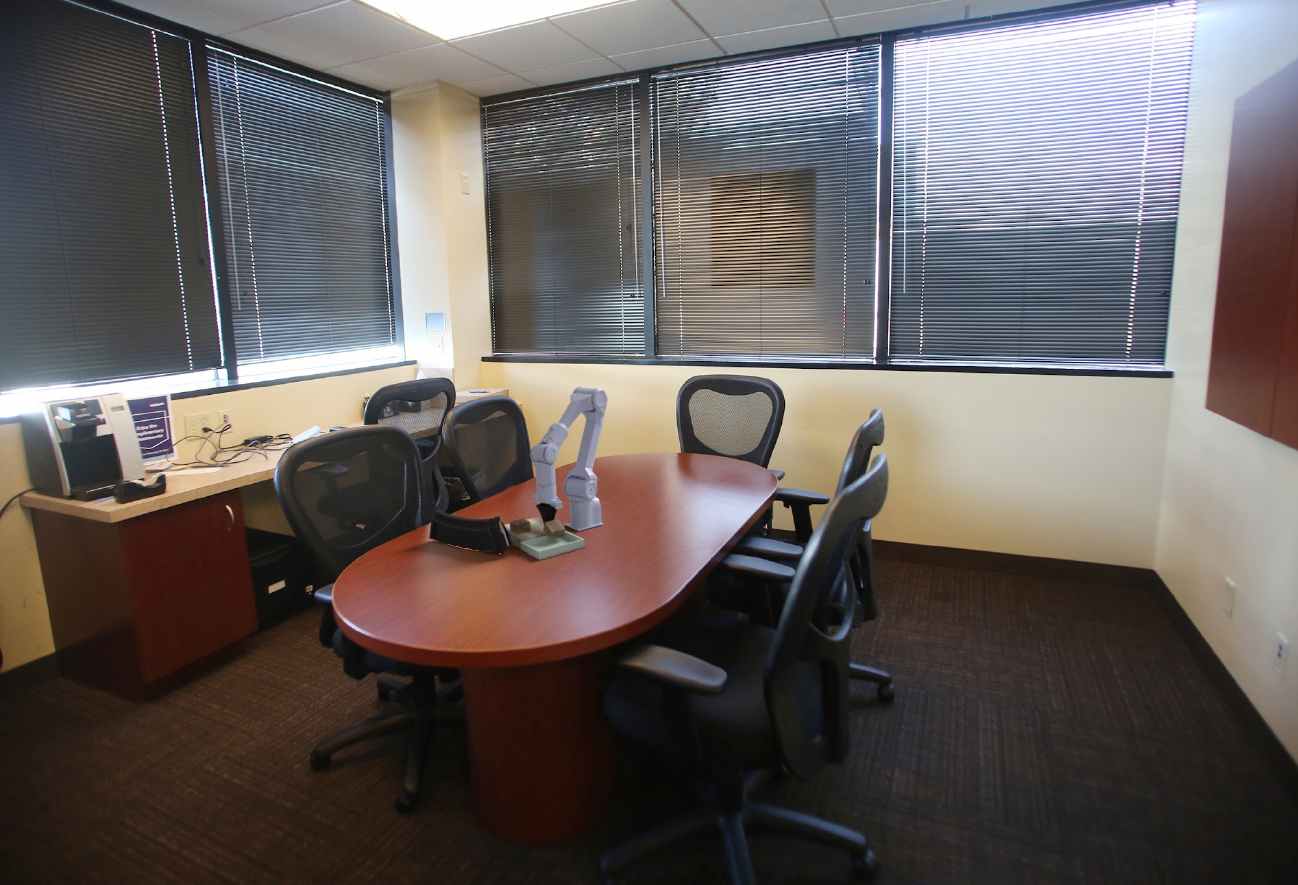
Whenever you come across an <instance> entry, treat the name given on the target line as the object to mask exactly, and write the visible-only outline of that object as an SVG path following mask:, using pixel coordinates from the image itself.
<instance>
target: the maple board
mask: <svg viewBox="0 0 1298 885" xmlns="http://www.w3.org/2000/svg"><path fill="white" fill-rule="evenodd" d="M526 520H528V521H530V528H531V531H530V532H526V533H522V534H518V535H517V534H515V533H513V532H511V531H510V523H506V524H504V525H505V527H506V529H507V530H508V531H509V534H510V537H511V540H512V543H513V544H515V545H516V546H518V547H519V548H518V547H517V548H518V549H520V548H521V546H520V542H522V541H526V540H530V539H534V538H538V537H541V536H545V535H547V534H546V533H545V531H544V530H543V528H544V523H543V519H542V518H540V517H538V516H536V517H531V518H528V519H526ZM515 545H514V546H515ZM516 546H515V547H516Z"/></svg>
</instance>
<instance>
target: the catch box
mask: <svg viewBox="0 0 1298 885" xmlns="http://www.w3.org/2000/svg"><path fill="white" fill-rule="evenodd" d="M520 546H521V549H520V551H521V550H523V551H524V553H525V552H526V553H525V554H527V553H528V554H527V555H529V554H530V555H532V556H533V557H532V556H531V557H532V558H534V557H535V558H534V559H536V560H538V559H539V560H538V561H542V560H541V559H543V560H546V559H549V558H548V557H550V558H553V557H555V556H559V555H564V554H567V553H570V552H574V551H579V550H581V549H584V548H586V541H585V539H584V538H582V537H580V536H578V535H576V534H574V533H573V532H570V531H568V530H565V532H564V536H563V537H559V538H555V539H551V540H550V539H549V537H548V536H547V535H545V536H541V537H538V538H534V539H530V540H526V541H522V542H520ZM523 551H522V552H523ZM563 553H564V554H563ZM530 555H529V556H530Z"/></svg>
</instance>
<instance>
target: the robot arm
mask: <svg viewBox="0 0 1298 885" xmlns="http://www.w3.org/2000/svg"><path fill="white" fill-rule="evenodd" d="M569 398H570V399H569V400H570V402H569V404H568V406H567V407H566V409H565V410H564V412H563V413H562V415H561V418H560V419H559V420H558V422H557V423H553V424H551V425H550V426H549V427H548V428H549V429H548V430H547V431H546V433H545V434H544V436H543V437H542V438H541V440H540V442H537V443H535V444H534V445H533V446H532V447H531V450H530V453H529V457H530V459H531V461H532V463H533V467H534V470H535V482H536V485H535V486H536V492H533V493H532V500H533V502H534V503H537V504H536V505H535V508H536V509H537V510H538V512H539V514H540V516H541V519H542V520H543V523H544V524H545V522H548V521H552V520H556V519H555V518H556V514H557V512H558V510H559V509H563V501H561V500H560V498H559V497H558V496H557V483H556V481H557V480H556V469H555V468H556V467H555V464H556V463H555V462H556V461H557V460H558V458H559V452H560V450H561V446H562V445H563V443H564V442H565V440H566V439H567V438H568V436H569V428H570V427H571V426H572V425H573V423H574V422H575V421H576V419H577V418H578V417H579V416H580V414H582V415H583V416H584V418H585V424H584V428H583V433H582V437H581V441H580V445H579V449H578V454H577V457H576V458H577V459H576V462H575V466H574V467H573V468H572V469H570V470H569V471H568V472H567V475H566V476H567V477H566V478H565V480H564V482H563V484H562V491H563V494H564V495H565V496H566V498H567V500H569V502H568V503H569V519H570V522H567V523H565V526H566V527H568V528H571V529H573V530H574V531H576V532H581V531H584V530H589V529H592V528H596V527H599V526H603V525H604V523H603V522H602V505H601V502H600V499H599V498H598V497H597V496H596V495H597V492H598V479H599V478H598V476H597V475H596V474H595V473H594V471H593V468H594V464H595V461H596V460H595V459H596V456H597V451H598V448H599V447H598V446H599V442H600V439H601V434H602V433H601V432H602V428H603V425H604V421H605V414H606V409H607V405H608V400H609V398H608V395H607V394H606V391H605V390H604V388H601V387H598V388H594V387H593V388H592V387H582V386H577V387H576V388H574V389H573V391H572V393H571V394H570V396H569Z"/></svg>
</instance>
